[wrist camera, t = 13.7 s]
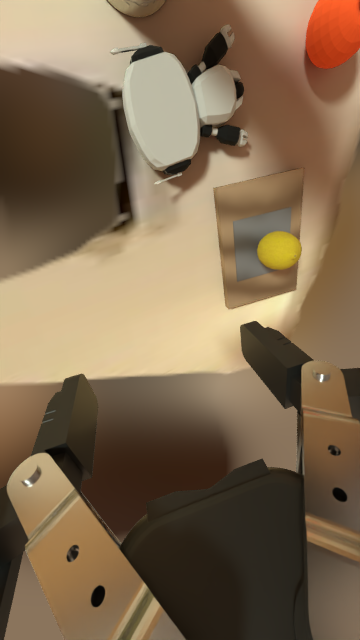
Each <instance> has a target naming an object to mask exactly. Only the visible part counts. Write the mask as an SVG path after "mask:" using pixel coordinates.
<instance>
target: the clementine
mask: <svg viewBox="0 0 360 640" xmlns="http://www.w3.org/2000/svg"><path fill="white" fill-rule="evenodd" d="M359 48H360V0H319V1H318V2H317V4H316V6H315V8H314V10H313V13H312V15H311V17H310V20H309V23H308V27H307V33H306V50H307V53H308V56H309V58H310V60H311V61H312V63H313V64H314V65H315V66H317V67H320V68H324V69H328V68H333V67H336V66H338V65H340V64H342V63H344V62H346V61H347V60H348V59H349V58H350V57H352V56H353V55H354V54H355V53H356V52H357V51H358V49H359Z"/></svg>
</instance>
